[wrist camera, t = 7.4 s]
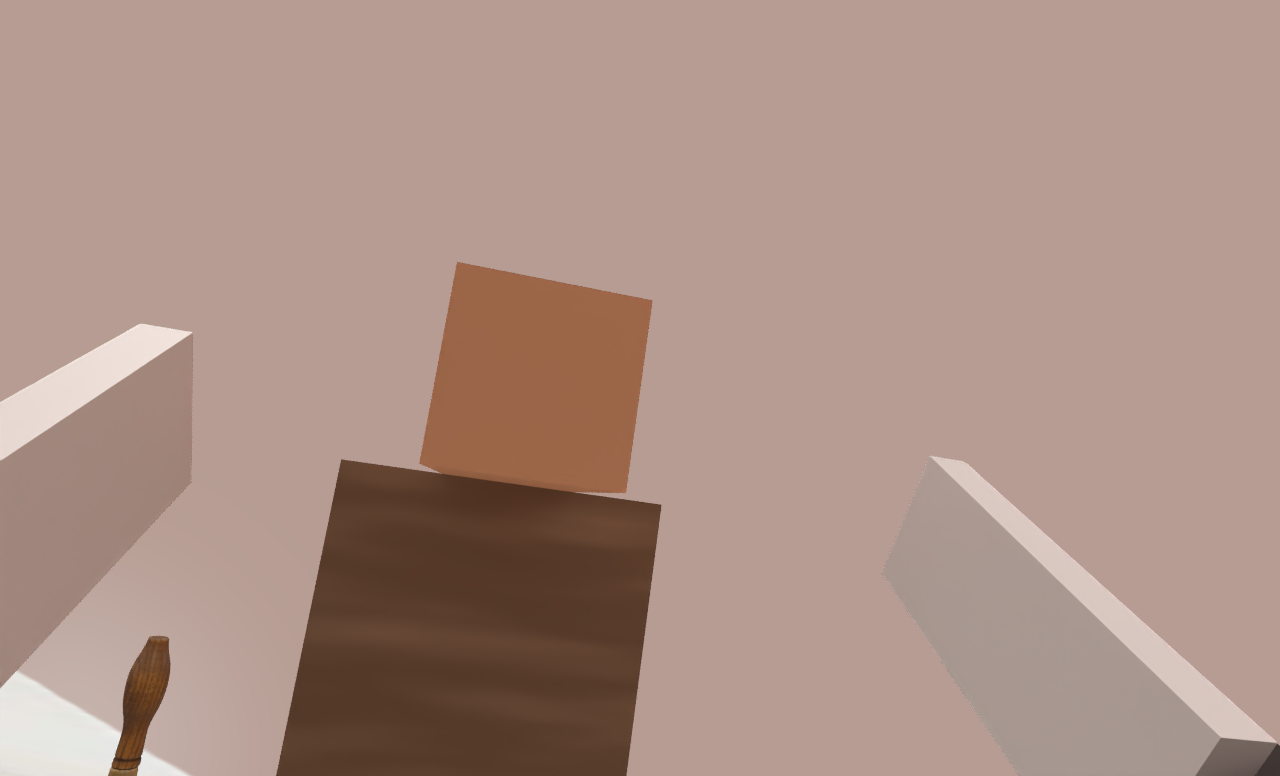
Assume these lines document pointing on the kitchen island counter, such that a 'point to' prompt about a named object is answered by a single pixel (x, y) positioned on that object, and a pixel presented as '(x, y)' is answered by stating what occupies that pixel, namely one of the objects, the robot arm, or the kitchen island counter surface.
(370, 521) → the tall wooden block
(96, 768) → the kitchen island counter surface
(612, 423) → the bar
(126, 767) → the hand bell
